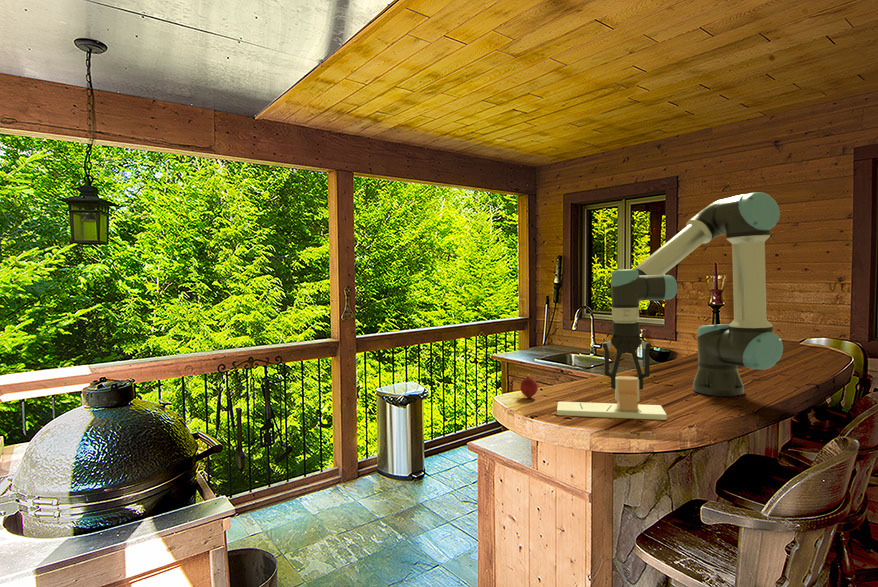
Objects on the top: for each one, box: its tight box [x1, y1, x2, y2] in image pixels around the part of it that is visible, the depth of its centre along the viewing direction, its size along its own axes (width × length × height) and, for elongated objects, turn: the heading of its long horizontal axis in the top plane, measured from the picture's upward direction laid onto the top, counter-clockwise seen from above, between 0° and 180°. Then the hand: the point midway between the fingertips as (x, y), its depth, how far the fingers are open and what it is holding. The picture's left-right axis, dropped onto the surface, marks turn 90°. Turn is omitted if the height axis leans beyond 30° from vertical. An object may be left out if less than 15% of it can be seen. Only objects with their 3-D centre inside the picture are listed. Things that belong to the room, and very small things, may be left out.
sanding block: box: [616, 375, 639, 412], centre depth 144 cm, size 5×8×9 cm, turn 164°
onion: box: [520, 374, 538, 399], centre depth 166 cm, size 6×6×8 cm
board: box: [556, 401, 667, 421], centre depth 146 cm, size 30×10×2 cm, turn 74°
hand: (627, 399), depth 144 cm, fingers closed on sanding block, 5 cm apart
